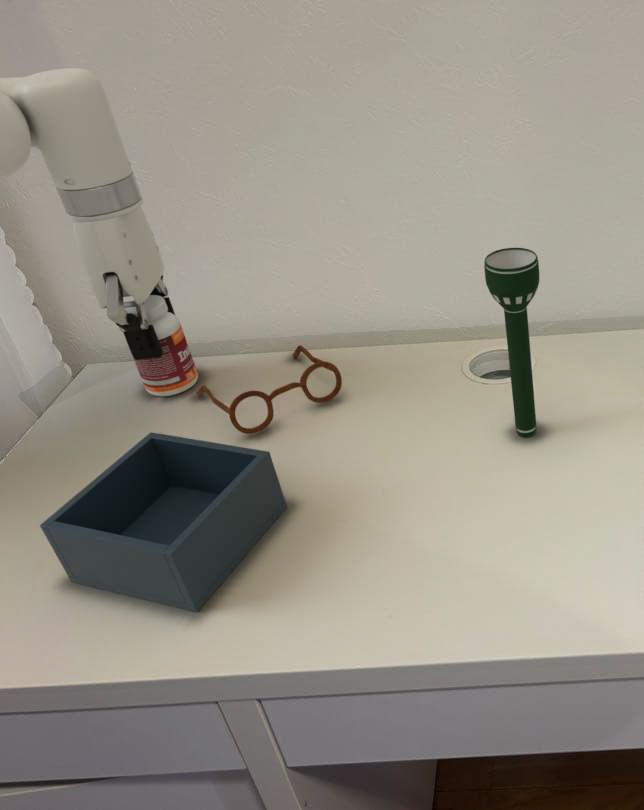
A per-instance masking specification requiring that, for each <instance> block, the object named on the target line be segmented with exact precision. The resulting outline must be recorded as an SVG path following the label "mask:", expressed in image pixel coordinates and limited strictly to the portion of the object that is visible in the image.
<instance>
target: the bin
mask: <svg viewBox="0 0 644 810" xmlns="http://www.w3.org/2000/svg"><path fill="white" fill-rule="evenodd" d="M287 508H288V506H287V502H286V499H285V496H284V493H283V489H282V486H281V484H280V480H279V478H278V474H277V471H276V468H275V465H274V462H273V458H272V455H271V452H270V451H268V450H261V449H257V448H256V449H254V448H249V447H244V446H236V445H232V444H231V445H230V444H224V443H219V442H213V441H206V440H200V439H195V438H189V437H188V438H187V437H183V436H176V435H172V434H171V435H169V434H163V433H159V432H152V431H151V432H149V433H148V434H147V435H145V436H144V437H143V438H142V439H141V440H140V441H138V442H137V443H136V444H135V445H133V446H131V448H130V449H129V450H128V451H126V452H125V453H124V454H123V455H122V456H120V458H118V459H117V460H115V462H113V463H112V464H111V465H110V466H108V467H107V468H106V469H105V470H103V472H101V473H100V474H99V475H98V476H96V477H95V478H94V479H93V480H92V481H91V482H90V483H89V484H87V485H86V486H85V487H83V488H82V489H81V490H80V491H79V492H78V493H77V494H75V495H73V497H72V498H70V499H69V500H68V501H67V502H66V503H65V504H63V505H62V506H61V507H60V508H59V509H57V510H56V511H55V512H54V513H53V514H52V515H50V516H49V517H47V519H45V520H44V521H43V522H42V523H41V524H39V527H40V529H41V530H42V532H43V535H44V536H45V537H46V539H47V541H48V543H49V545H50V546H51V548H52V550H53V552H54V553H55V556H56V557H57V559H58V561H59V563H60V565H61V566H62V568H63V570H64V572H65V573H66V575H67V577H68V579H69V581H70V582H71V583H74V584H78V585H83V586H87V587H91V588H95V589H99V590H102V591H107V592H112V593H116V594H120V595H124V596H128V597H132V598H136V599H140V600H145V601H149V602H153V603H157V604H162V605H165V606H169V607H174V608H178V609H182V610H185V611H190V612H194V613H198V612H199V611H201V609H202V608H203V606H204V605H205V604H206V603H207V602H208V601H209V599H210V598H212V596H213V595H214V594H215V592H216V591H217V590H218V589H219V588H220V586H221V585H222V584H223V583H224V582H225V580H226V579H227V578H228V577H229V576H230V575H231V574H232V572H233V571H234V570H235V569H236V568H237V567H238V565H239V564H240V563H241V562H242V561H243V560H244V558H246V556H247V555H248V554H249V552H250V551H251V550H252V549H253V548H254V546H256V544H257V543H258V542H259V540H260V539H261V538H262V537H263V536H264V535H265V534H266V532H267V531H268V530H269V529H270V528H271V527H272V526H273V525H274V523H276V521H277V519H279V517H280V516H281V515H282V514H283V512H285V511H286V510H287Z"/></svg>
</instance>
